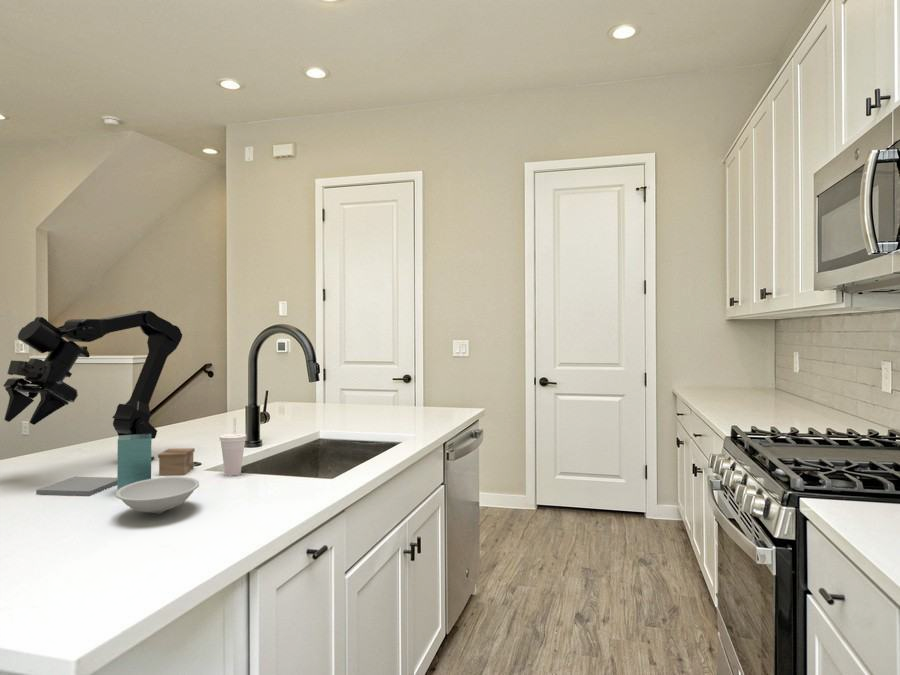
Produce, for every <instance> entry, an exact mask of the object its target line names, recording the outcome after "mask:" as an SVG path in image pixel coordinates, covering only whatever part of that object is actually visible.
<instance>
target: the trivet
mask: <svg viewBox="0 0 900 675" xmlns="http://www.w3.org/2000/svg"><path fill="white" fill-rule="evenodd" d="M112 486H113V487H115V486H117V477H112V476H111V477H109V476H108V477H107V476H103V477H101V476H99V477H98V476H73V477H72V476H71V477H69V478H67V479H64V480H60V481H58V482H55V483H52V484H50V485H47V486H44V487H40V488H38V489H36V491H35V493H36V494H46V495H45V496H73V495H76V496H79V495H80V496H81V497H91V496H92V495H95V493H96V494H98V493H101V492H102V490H103V491H105V490H107V488H108V489H110V488H112ZM104 489H105V490H104ZM97 492H98V493H97ZM90 495H91V496H90ZM80 496H79V497H80Z"/></svg>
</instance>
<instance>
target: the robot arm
mask: <svg viewBox="0 0 900 675" xmlns="http://www.w3.org/2000/svg"><path fill="white" fill-rule="evenodd" d="M138 327H139V328H140V330H141V331H142V333H143V334H144V335H145V336H147V341H146V342H147V348H148V353H147V356H146V358H145V361H144V363H143V365H142V368H141V370H140V373H139V376H138V378H137V381H136V382H135V385H134V389H133V390H132V392H131V395H130V398H129V399H128V401H126V403H118V405H117V407H116V411H115V413H114V415H113V416H112V419H113V421H112V426H113V428H114V431H115V432H116V434H117V436H118V437H119V436H121V435H137V434H151V440H153V439H156V437H157V432H158V429H157V428H155V427H154V426H153V425H152V424H151V423H150V420H151V409H150V403H151V400H152V397H153V395H154V392H155V390H156V387H157V384H158V382H159V380H160V377H161V374H162V372H163V370H164V366H165V364H166V362H167V359H168V357H169V356H170V355H171V354H172V353H174V352H175V351H176V350H177V348H178V346H179V345H180V343H181V341H182V338H183V333H182V332H181V329H180V327H179V326H177V325H174V324H173V323H171V322H170V321H168V320H166V319H164V318H163V317H160V316H158V314H156V313H155V312H153V311H151V310H138V311H135V312H131V313H125V314H119V315H113V316H108V317H102V318H70V319H67V320H66V321H64V324H63V325H60V326H57V327H56V326H54V325H53V324H52V323H51V322H49V321H48V320H47V319H46V318H45V317H43V316H37V317H35V318H34V320H32V321H30V322H28V323H27V324H26V325H25V326H24V327H22V328H21V329H20V330H19V332H18V334H17V338H18V340H19V341H20V342H22V343H24V344H25V345H27V346H29V348H32V349H33V350H35V351H37V352H38V353H40V354H45V353H48V354H47V356H46V357H45V359H44V360H43V359H39V358H30V359H29V360H28V361H25V360H24V361H23V360H10V361H9V362H10V363H9V366H8V371H7V373H6V374H7V375H9V376H10V375H11V376H13V375H15V376H20V377H10V378H7V379H6V381H5V382H4V384H3V387H4V388H5V391H6V392H7V394H8V397H9V400H8V404H7V408H6V412H5V416H4V421H6V422H7V423H9V422H12V420H14V419H15V418H16V417H17V416H18V415H20V414H21V413H22V412H23V411H24V410H25V409H27V407H29V405H31V404H32V403H33V402H34V401H35V400H34V399H35V398H36V397H37V396H38V395H40V401H39V403H38V404H37V406H36V408H35V411H34V412H33V414H32V416H31V418H30V420H29V424H31V425H33V426H34V425H36V424H38V423H40V422H41V421H42V420H44V419H45V418H46V417H49V416H50V415H51V414H53V413H54V412H56V411H58V410H59V409H61V408H63V407H65V406H68V405H69V404H70V403H75V401H76V400H77V398H78V396H79V394H78V390H77V388H74V387H72V385H70V384H68V383H66V382H64V380H65V379H66V378H70V377H71V376H72V375H73V373H71V372H70V370H71V369H72V368H73V366H74V365H75V363H76V362H77V360H78V359H79V358H90V352H89V351H88V346H82V345H79V344H78V343H91V342H95V341H96V340H99V339H102V338H103V337H105V336H106V335H109V334H110V333H115V332H120V331H124V330H129V329H133V328H138ZM21 376H23V377H24V378H23V377H21ZM154 459H155V456H151V461H152V460H154Z"/></svg>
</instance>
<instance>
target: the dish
mask: <svg viewBox="0 0 900 675" xmlns="http://www.w3.org/2000/svg"><path fill="white" fill-rule="evenodd" d="M199 487H200V481H199V480H197V479H196V478H193V477H189V476H164V477H154V478H151V479H148V480H143V481H139V482H135V483H132V484H129V485H126V486H124V487H122V488H120V489H119V490H117V489H116V492H115V497H116V498H117V499H118V500H121V501H122V502H123V504H124V505H126V506H127V507H129V508H130V509H132V510H135V511H136V512H137V511H138V512H140V513H153V514H154V515H156V514H157V515H160V514H163V513H164V511H168V510H169V511H170V510H171V509H173V508H176V507H178V506H180V505H181V504H183V503H184V502H185V501H187V500H188V499H189V497H190V496H191V495H192V494H193V493H194V491H195V490H196V489H198V488H199Z"/></svg>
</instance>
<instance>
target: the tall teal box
mask: <svg viewBox="0 0 900 675" xmlns="http://www.w3.org/2000/svg"><path fill="white" fill-rule="evenodd" d="M151 457H152V439H151V434H137V435H121V436H118V438H117V467H116V468H117V471H116V472H117V473H116V474H117V477H116V478H117V485H116V491H117V490H119V489H120V488H122V487H124V486H126V485H129V484H132V483H135V482H139V481H143V480H148V479H152V460H151Z"/></svg>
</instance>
